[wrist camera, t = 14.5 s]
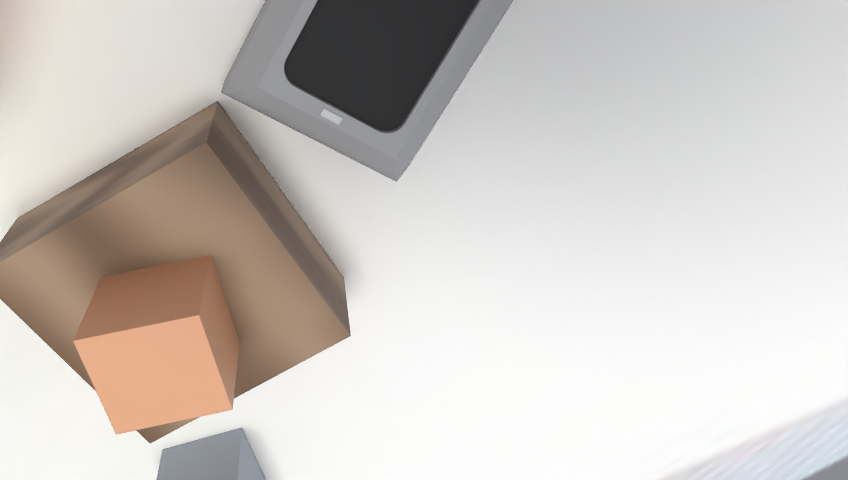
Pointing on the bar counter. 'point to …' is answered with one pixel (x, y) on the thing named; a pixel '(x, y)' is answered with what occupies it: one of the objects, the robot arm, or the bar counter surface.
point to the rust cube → (160, 345)
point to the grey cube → (211, 459)
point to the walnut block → (181, 249)
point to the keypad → (361, 70)
